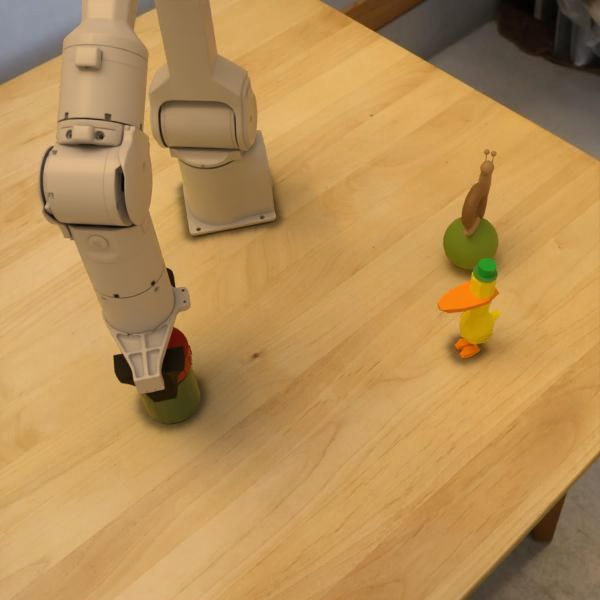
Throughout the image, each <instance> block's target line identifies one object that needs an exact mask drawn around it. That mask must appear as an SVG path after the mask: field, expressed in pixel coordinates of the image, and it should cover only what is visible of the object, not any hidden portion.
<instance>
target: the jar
mask: <svg viewBox="0 0 600 600" xmlns="http://www.w3.org/2000/svg"><path fill="white" fill-rule="evenodd" d="M139 395H140V398H141V400H142V403H143V405H144V407H145V410H146V412H147V414H148V415H149V417H150V418H151V419H153V420H154V421H156V422H158V423H160V424H166V425H167V424H168V425H169V424H178V423H181V422H183V421H185V420H187V419H188V418H190V417H191V416H192V415H194V413H195V412H196V411H197V409H198V407H199V405H200V403H201V391H200V387H199V384H198V380H197V377H196V374H195V370H194V367H193V364H192V365H191V367H190V370H189V372H188V373H187V376H185V377H184V378H183V379H182V380H181V381H180V382H179V383H178V394H177V397H176V398H175V399H170V400H165V401H160V402H154V401H152V400H151V399H150V398H149V397H148V396H147V395H146V394H145V393H143V394H139Z"/></svg>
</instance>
